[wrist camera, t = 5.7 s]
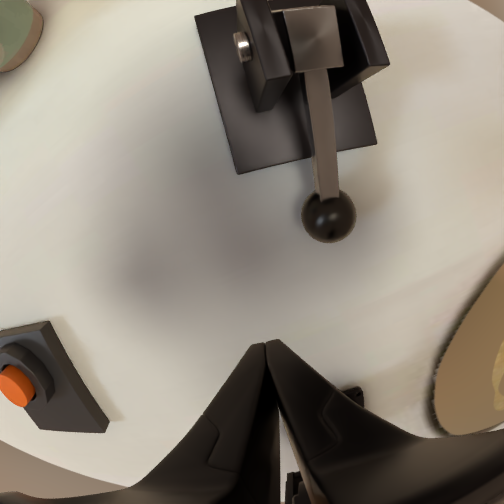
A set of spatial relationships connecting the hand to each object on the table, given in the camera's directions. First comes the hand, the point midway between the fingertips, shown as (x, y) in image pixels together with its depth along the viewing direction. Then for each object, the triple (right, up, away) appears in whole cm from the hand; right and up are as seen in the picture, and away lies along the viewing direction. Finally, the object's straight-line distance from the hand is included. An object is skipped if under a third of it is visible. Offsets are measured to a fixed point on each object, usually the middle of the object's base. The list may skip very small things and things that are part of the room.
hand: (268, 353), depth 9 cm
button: (-21, -9, +11) cm, 26 cm away
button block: (-21, -10, +15) cm, 27 cm away
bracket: (+2, +14, +8) cm, 16 cm away
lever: (+3, +10, +6) cm, 12 cm away
